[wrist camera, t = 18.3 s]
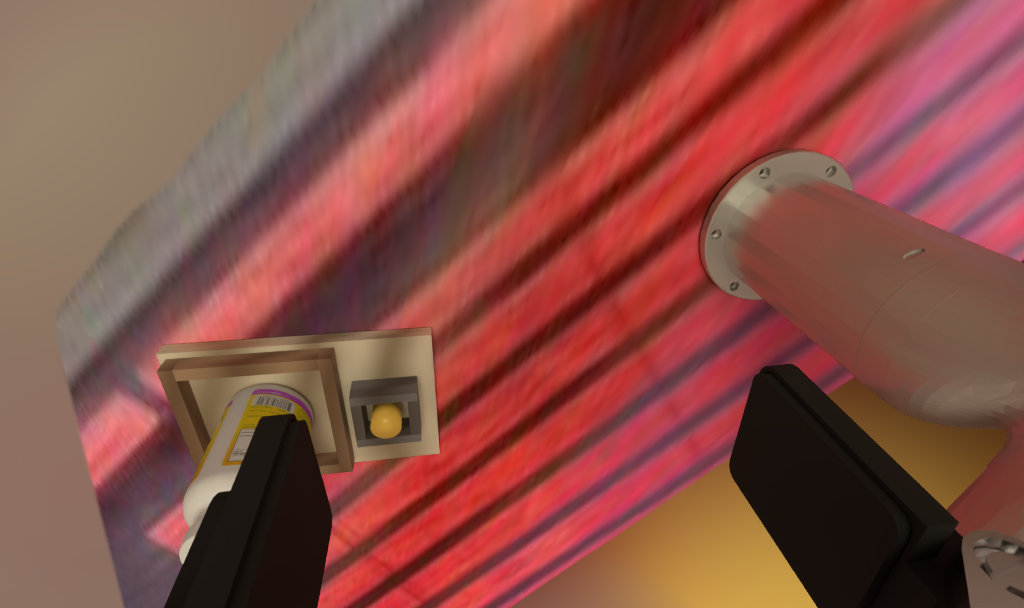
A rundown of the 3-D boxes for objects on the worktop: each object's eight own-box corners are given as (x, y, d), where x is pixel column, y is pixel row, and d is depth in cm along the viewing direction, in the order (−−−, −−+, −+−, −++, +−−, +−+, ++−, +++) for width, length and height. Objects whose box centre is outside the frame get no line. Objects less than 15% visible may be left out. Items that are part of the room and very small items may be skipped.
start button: (401, 393, 42) (400, 414, 40) (403, 415, 44) (402, 437, 41) (371, 395, 42) (368, 417, 40) (374, 417, 43) (372, 440, 41)
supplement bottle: (257, 452, 44) (202, 602, 33) (210, 397, 40) (131, 544, 29) (330, 426, 43) (300, 568, 32) (289, 369, 40) (240, 506, 29)
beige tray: (431, 327, 42) (431, 351, 39) (439, 444, 48) (440, 472, 45) (163, 344, 39) (142, 372, 36) (210, 466, 45) (195, 498, 42)
